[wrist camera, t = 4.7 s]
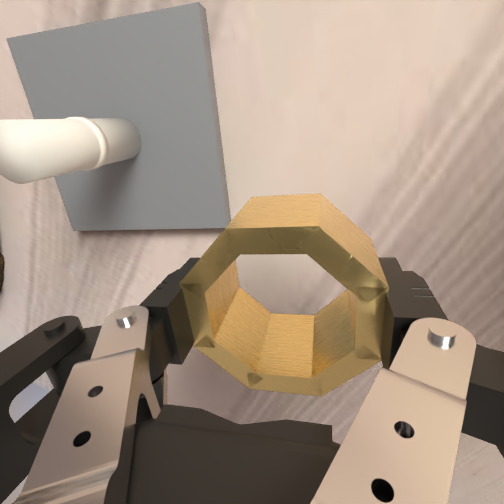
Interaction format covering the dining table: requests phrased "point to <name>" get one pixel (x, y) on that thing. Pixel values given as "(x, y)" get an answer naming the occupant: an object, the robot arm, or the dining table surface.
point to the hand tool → (1, 269)
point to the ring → (289, 325)
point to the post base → (152, 100)
